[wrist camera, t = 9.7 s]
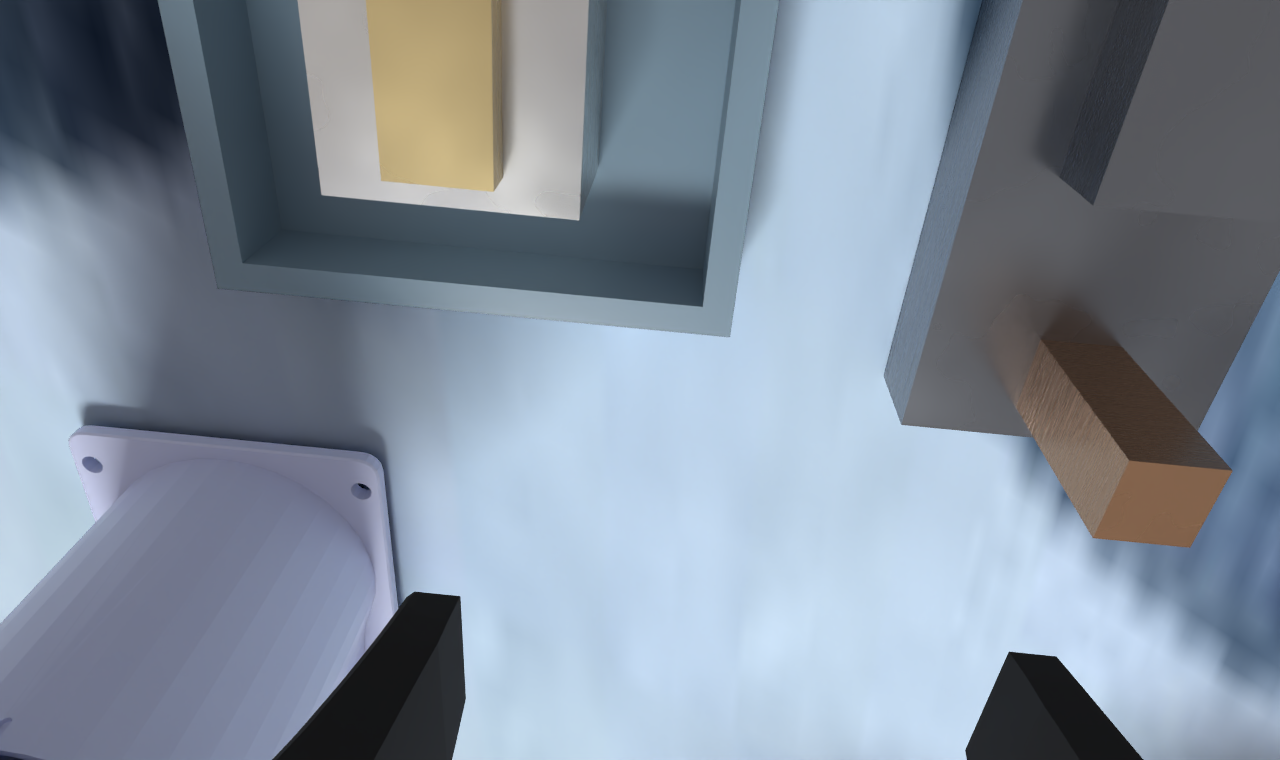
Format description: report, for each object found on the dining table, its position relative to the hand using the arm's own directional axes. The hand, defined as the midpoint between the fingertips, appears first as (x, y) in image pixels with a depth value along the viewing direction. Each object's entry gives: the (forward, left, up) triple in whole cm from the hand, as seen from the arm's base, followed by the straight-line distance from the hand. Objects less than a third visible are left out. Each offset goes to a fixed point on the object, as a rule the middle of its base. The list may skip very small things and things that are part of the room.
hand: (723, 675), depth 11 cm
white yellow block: (+7, +5, -9) cm, 12 cm away
